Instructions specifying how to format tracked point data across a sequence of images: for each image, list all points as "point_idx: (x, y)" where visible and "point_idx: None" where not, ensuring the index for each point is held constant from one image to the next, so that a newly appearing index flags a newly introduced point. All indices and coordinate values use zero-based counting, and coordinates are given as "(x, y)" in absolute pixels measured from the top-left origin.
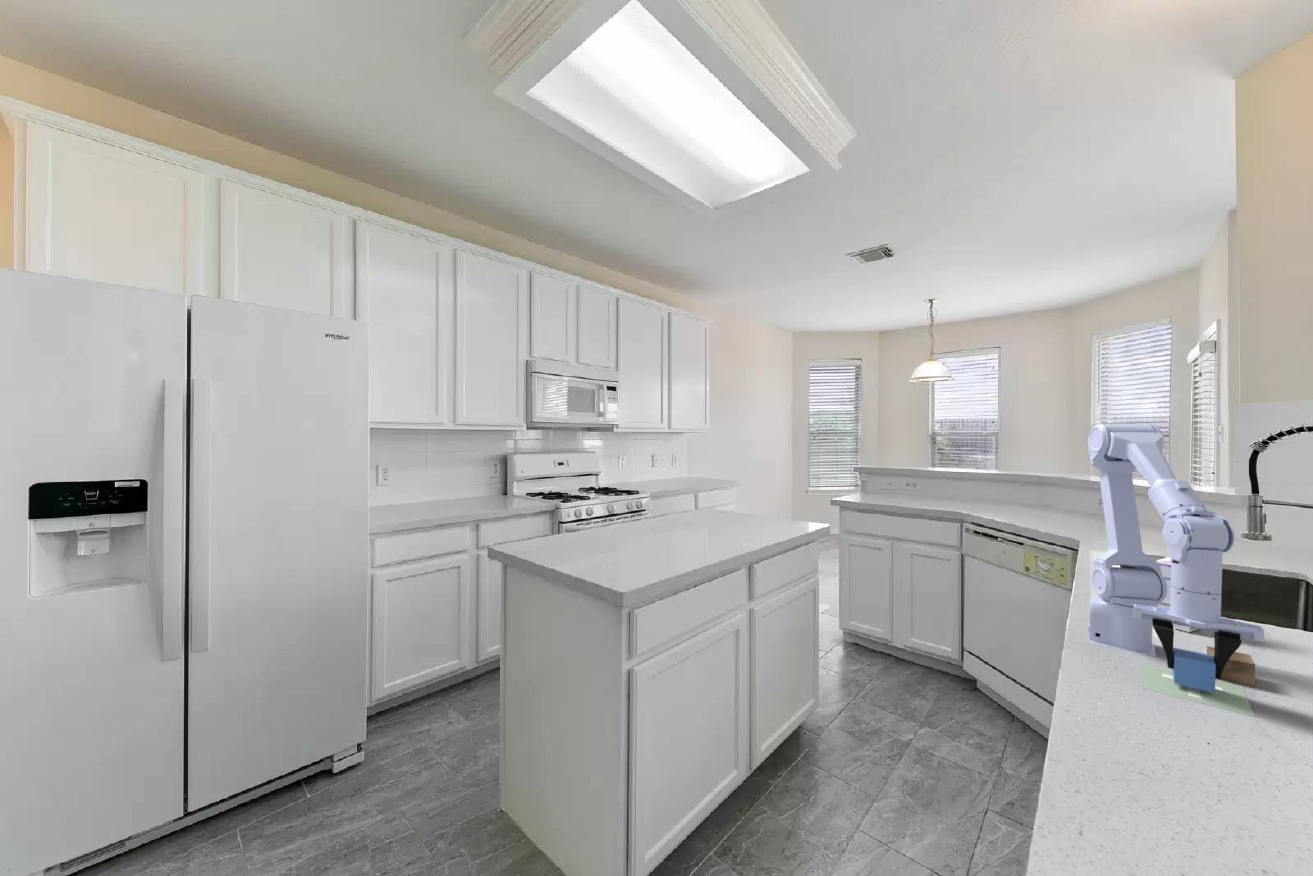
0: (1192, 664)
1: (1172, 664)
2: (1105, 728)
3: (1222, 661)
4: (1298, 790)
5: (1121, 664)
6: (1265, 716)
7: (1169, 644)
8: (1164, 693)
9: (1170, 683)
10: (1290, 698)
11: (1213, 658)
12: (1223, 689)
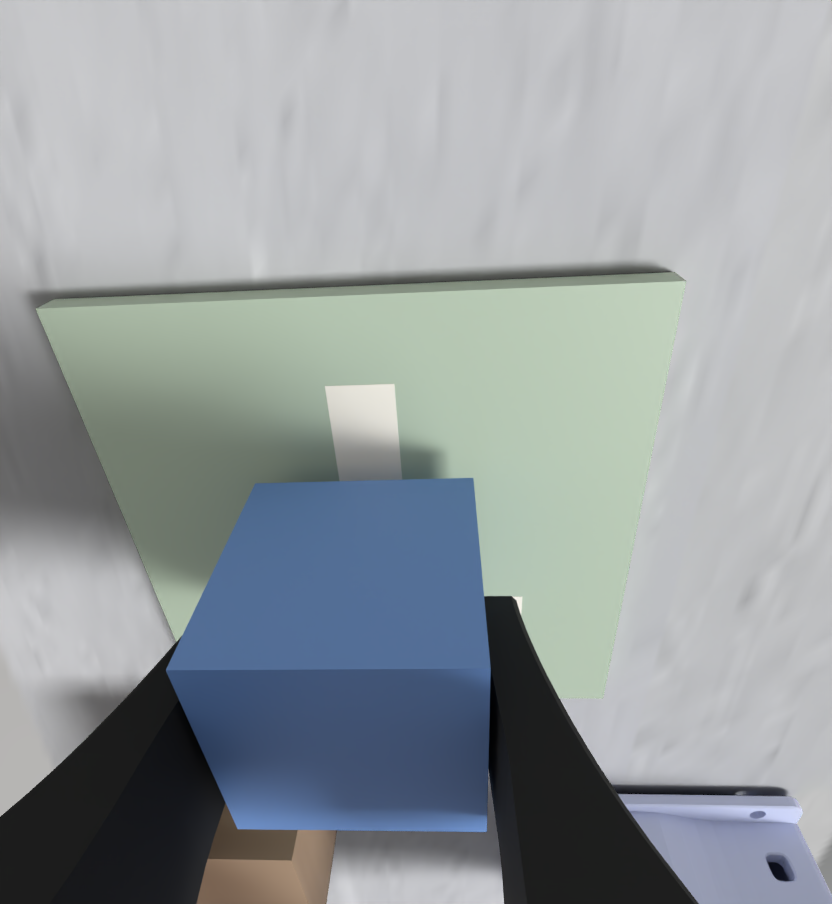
0: (350, 626)
1: (492, 622)
2: None
3: (112, 736)
4: None
5: (696, 655)
6: (49, 428)
7: (551, 815)
8: (541, 291)
9: (487, 519)
10: (66, 712)
11: (282, 841)
12: None
